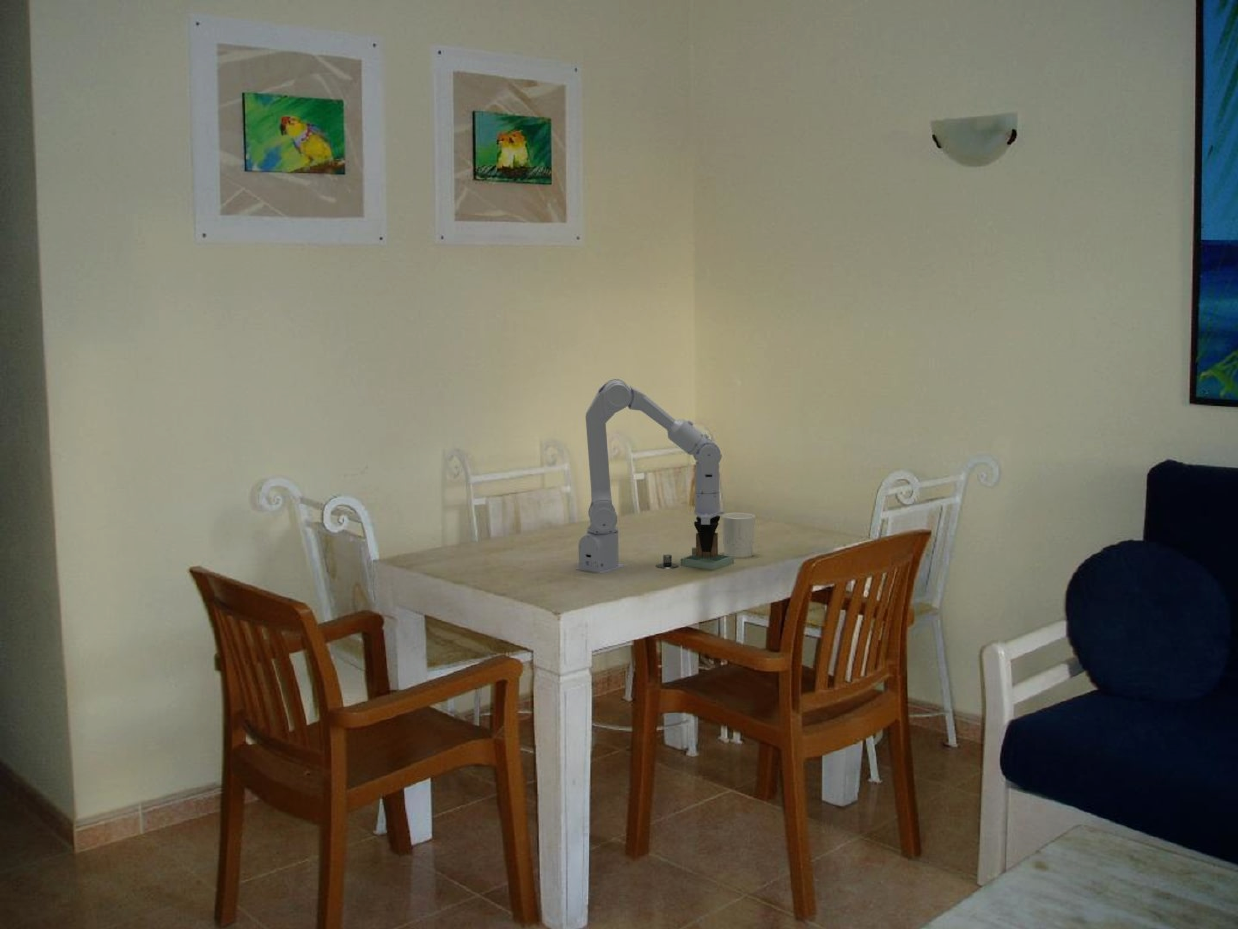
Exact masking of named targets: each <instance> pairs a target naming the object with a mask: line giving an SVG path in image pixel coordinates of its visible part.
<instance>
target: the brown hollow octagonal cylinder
mask: <svg viewBox="0 0 1238 929" xmlns="http://www.w3.org/2000/svg"><path fill="white" fill-rule="evenodd" d="M718 538H719V534H718V532H715V534H714V539H713V546H712V550H711V552H702V549H701V545H700V539H699V535H698V532H696V534H695V547H692V548H691V555H696V556H699V557H714V556H718V554H719V545H718V544H719V539H718Z"/></svg>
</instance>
